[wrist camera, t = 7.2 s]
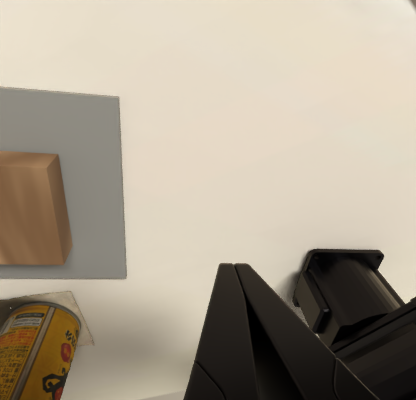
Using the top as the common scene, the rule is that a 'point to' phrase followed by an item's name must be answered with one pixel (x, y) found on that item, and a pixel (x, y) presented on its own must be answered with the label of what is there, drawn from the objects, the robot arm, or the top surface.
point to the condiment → (39, 345)
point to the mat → (74, 174)
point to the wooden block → (33, 210)
